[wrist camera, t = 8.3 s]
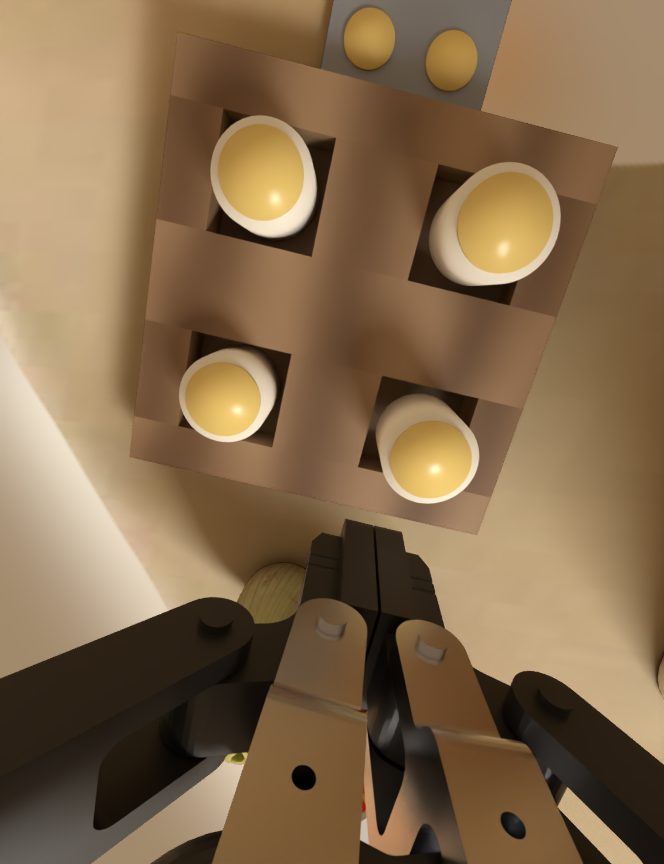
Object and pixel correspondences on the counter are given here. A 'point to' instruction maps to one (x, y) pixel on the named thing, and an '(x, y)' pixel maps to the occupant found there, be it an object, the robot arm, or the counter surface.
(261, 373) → the button
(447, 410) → the button
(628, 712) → the counter surface
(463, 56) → the card
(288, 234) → the button
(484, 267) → the button
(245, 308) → the board
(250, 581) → the fennel bulb
